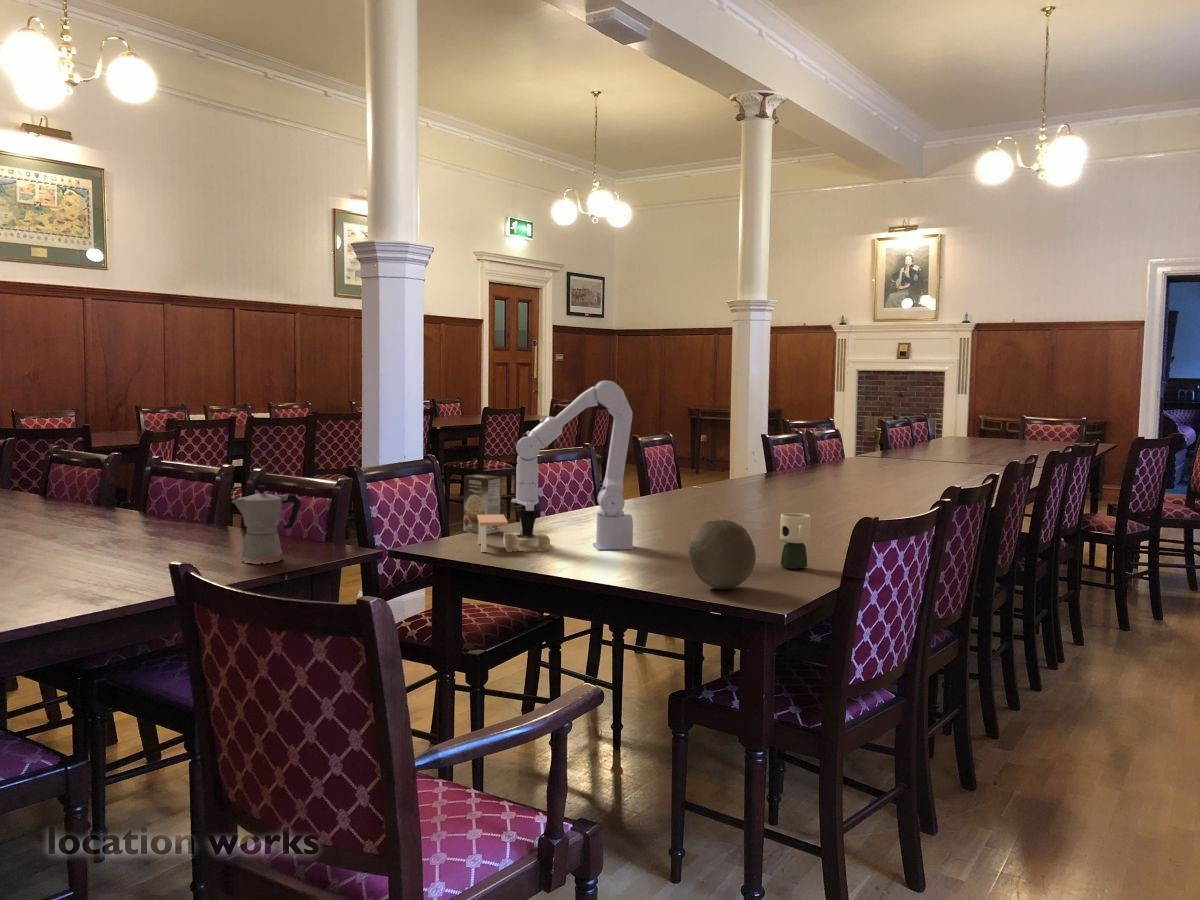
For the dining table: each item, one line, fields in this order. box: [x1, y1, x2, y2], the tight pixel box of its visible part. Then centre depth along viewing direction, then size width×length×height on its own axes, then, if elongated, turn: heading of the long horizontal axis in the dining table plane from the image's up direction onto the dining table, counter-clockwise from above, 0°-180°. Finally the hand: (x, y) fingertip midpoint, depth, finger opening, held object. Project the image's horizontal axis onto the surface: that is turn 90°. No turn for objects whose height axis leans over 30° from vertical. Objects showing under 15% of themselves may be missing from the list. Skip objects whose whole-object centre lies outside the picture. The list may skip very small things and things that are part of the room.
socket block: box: [503, 531, 551, 553], centre depth 239 cm, size 11×11×3 cm
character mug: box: [779, 512, 812, 570], centre depth 219 cm, size 11×7×13 cm, turn 3°
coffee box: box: [462, 473, 502, 535], centre depth 262 cm, size 9×6×16 cm
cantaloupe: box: [688, 519, 757, 590], centre depth 195 cm, size 14×14×15 cm
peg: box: [519, 519, 535, 538], centre depth 239 cm, size 4×4×8 cm
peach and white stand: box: [477, 513, 509, 553], centre depth 237 cm, size 7×13×8 cm, turn 11°
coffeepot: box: [231, 484, 302, 558], centre depth 216 cm, size 15×9×18 cm, turn 115°
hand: (526, 534), depth 239 cm, fingers open, 4 cm apart
